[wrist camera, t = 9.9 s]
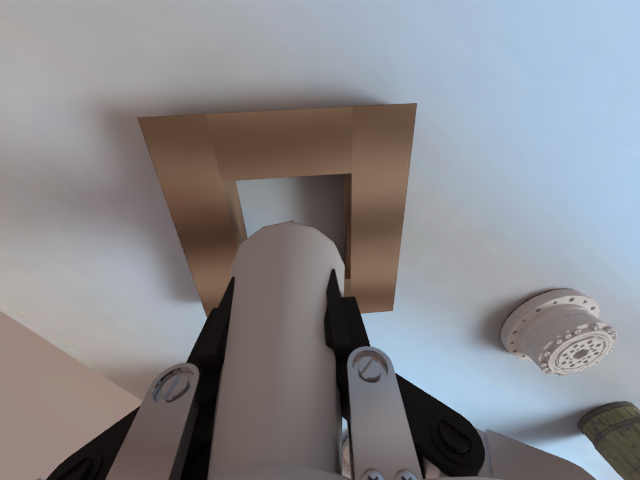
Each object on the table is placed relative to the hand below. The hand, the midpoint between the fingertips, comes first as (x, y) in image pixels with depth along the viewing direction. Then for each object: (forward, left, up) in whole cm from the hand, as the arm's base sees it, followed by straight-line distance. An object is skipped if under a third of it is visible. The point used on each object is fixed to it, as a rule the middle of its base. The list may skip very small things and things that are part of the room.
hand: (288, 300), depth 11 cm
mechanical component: (-15, -27, -11) cm, 33 cm away
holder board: (0, 0, -10) cm, 10 cm away
